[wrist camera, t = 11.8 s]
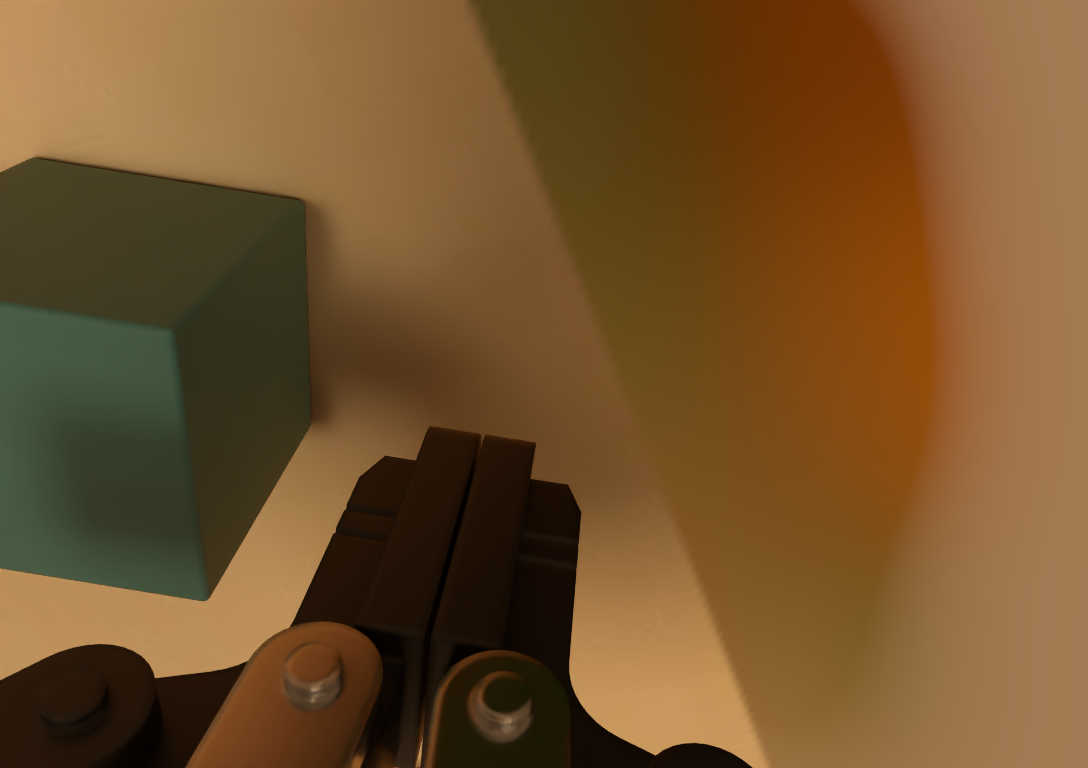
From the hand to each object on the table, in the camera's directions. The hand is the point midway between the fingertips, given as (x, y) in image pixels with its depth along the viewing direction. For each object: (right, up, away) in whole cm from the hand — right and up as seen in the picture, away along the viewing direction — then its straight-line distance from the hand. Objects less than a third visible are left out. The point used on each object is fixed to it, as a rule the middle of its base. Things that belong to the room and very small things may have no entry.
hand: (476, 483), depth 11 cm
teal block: (-5, +3, +3) cm, 7 cm away
